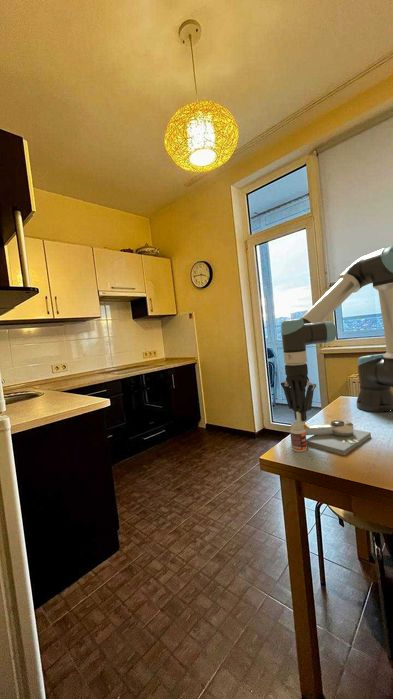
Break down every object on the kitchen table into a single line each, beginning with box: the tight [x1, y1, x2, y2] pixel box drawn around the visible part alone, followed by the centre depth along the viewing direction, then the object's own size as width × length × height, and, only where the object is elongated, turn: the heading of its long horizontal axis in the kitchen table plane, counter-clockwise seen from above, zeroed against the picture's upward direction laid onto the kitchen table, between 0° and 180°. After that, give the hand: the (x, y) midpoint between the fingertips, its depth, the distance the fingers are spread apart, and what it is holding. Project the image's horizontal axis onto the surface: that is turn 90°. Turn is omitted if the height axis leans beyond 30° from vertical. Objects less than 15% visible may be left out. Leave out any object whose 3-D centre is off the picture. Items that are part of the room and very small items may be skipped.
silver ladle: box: [304, 419, 354, 437], centre depth 99 cm, size 16×7×4 cm, turn 82°
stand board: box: [306, 428, 372, 456], centre depth 96 cm, size 18×14×2 cm
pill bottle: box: [289, 421, 308, 453], centre depth 93 cm, size 5×5×8 cm
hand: (301, 429), depth 103 cm, fingers closed
